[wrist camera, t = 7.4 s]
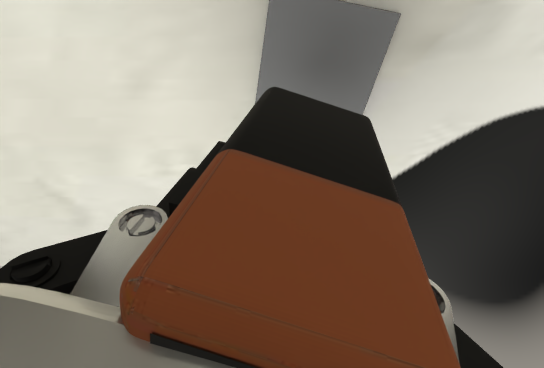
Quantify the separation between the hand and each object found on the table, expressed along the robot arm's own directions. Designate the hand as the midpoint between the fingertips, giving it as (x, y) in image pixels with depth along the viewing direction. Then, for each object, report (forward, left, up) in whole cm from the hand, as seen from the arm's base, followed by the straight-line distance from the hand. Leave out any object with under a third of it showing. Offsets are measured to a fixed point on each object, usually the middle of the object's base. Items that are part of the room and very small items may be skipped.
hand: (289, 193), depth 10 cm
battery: (0, 0, -2) cm, 2 cm away
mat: (0, 0, -19) cm, 19 cm away
